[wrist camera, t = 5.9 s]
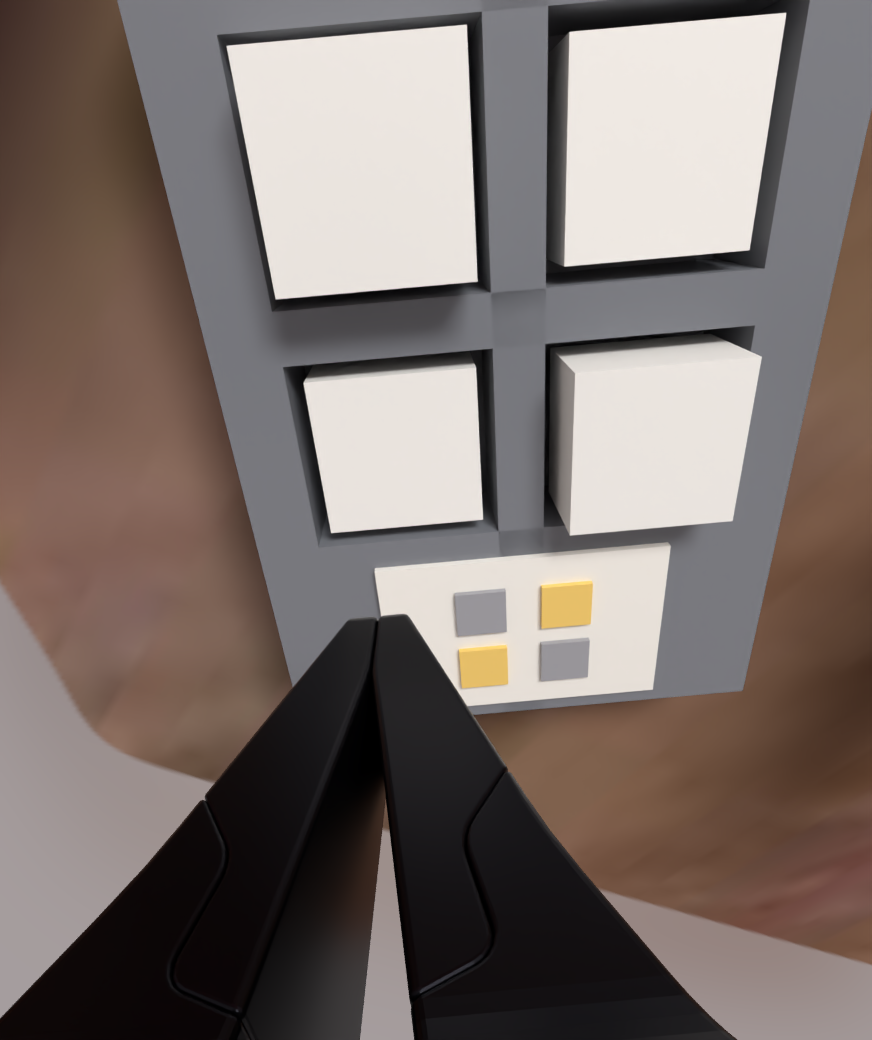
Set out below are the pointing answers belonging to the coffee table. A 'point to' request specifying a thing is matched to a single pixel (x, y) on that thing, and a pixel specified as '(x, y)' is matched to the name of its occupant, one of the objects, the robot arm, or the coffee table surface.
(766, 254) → the panel
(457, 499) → the button
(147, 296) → the coffee table surface
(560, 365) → the button
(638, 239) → the button
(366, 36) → the button
